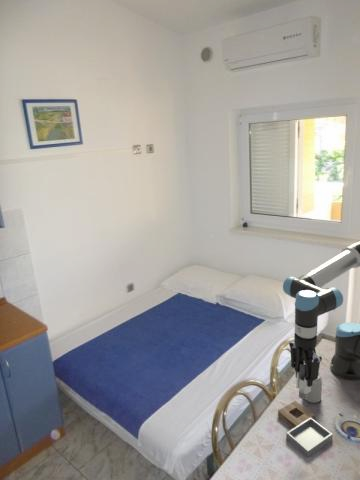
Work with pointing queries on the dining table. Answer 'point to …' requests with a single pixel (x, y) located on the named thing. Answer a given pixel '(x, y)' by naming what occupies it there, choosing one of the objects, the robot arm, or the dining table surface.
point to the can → (315, 390)
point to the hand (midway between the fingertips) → (303, 389)
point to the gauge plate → (293, 408)
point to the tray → (309, 436)
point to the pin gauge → (302, 380)
